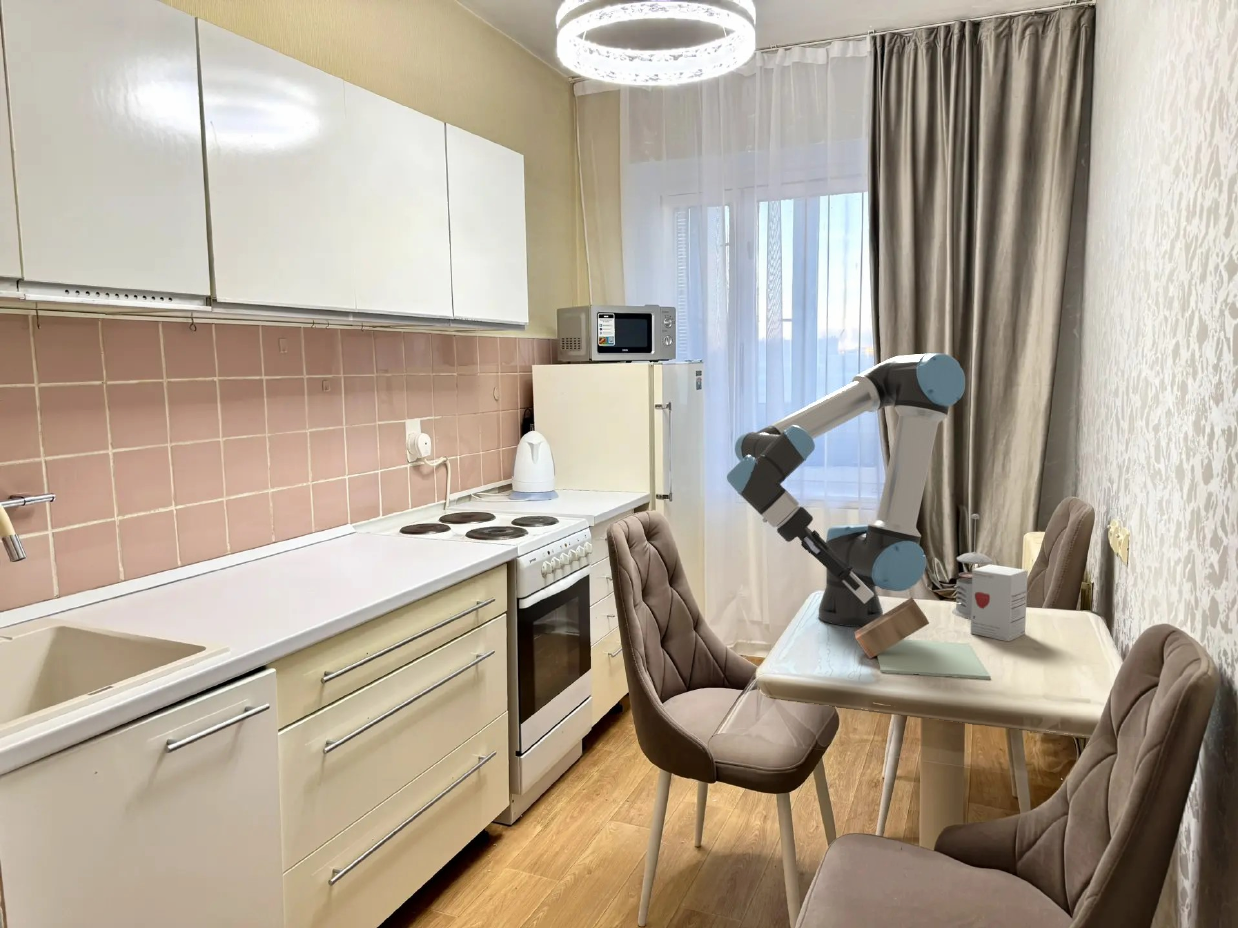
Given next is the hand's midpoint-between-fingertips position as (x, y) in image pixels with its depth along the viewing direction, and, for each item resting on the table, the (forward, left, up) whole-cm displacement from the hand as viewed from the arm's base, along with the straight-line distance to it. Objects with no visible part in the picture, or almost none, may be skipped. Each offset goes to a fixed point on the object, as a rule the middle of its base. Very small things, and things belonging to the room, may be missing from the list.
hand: (868, 598), depth 174 cm
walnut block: (0, -1, -10) cm, 10 cm away
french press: (-39, +28, -12) cm, 50 cm away
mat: (0, +12, -12) cm, 17 cm away
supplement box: (-22, +30, -12) cm, 39 cm away
